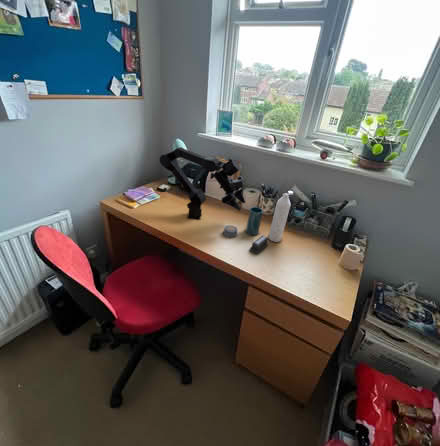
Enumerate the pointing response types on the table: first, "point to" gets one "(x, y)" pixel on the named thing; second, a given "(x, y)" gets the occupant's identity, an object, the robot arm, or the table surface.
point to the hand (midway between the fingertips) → (242, 206)
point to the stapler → (259, 244)
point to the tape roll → (230, 231)
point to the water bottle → (280, 217)
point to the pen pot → (254, 220)
